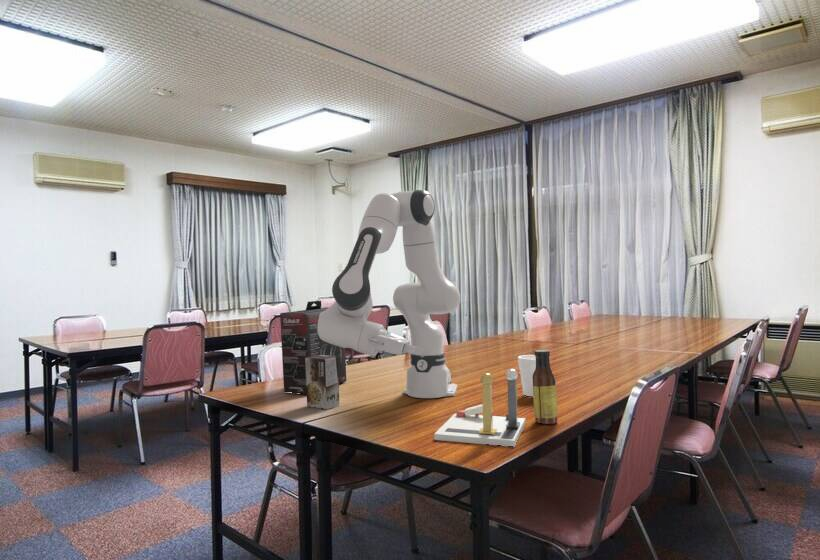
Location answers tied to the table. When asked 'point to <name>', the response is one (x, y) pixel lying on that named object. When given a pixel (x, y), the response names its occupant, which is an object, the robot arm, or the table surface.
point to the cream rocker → (474, 410)
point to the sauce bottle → (544, 390)
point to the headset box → (304, 346)
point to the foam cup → (527, 372)
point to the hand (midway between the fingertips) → (422, 352)
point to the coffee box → (322, 381)
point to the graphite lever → (512, 398)
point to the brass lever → (487, 404)
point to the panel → (469, 427)
